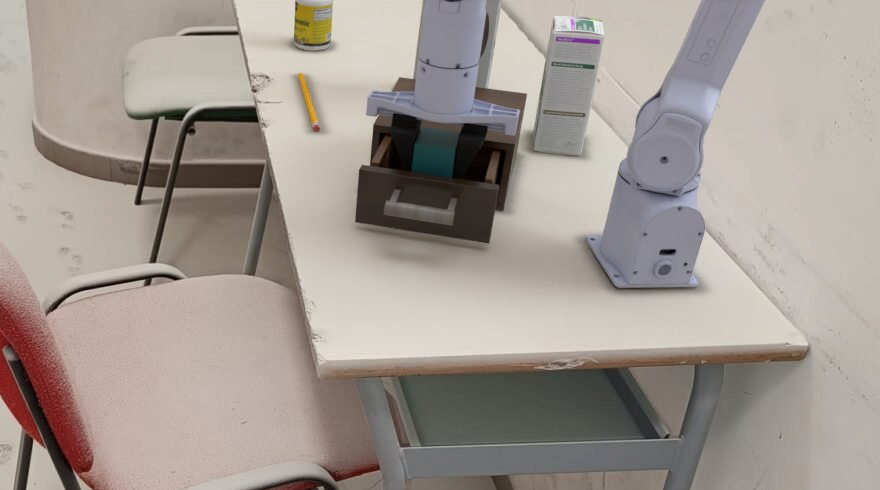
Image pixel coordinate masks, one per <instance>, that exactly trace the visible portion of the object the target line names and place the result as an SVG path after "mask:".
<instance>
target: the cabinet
mask: <svg viewBox="0 0 880 490" xmlns="http://www.w3.org/2000/svg"><path fill="white" fill-rule="evenodd" d="M415 83H416V79H413V78H411V77H410V78H408V77H401V76H399V77H398V79H397V81H396V82H395V84H394V86H393V87H392V90H391V91H390V92H415ZM527 97H528V93H527V92H517V91H511V90H510V91H509V90H502V89H496V88H495V89H494V88H489V87H488V88H480V87H476V88H475V95H474V99H476V100H480V101H483V102H487V103H491V104H495V105H498V106H502V107H506V108H511V109H518V110H520V112H519V118H518V124H517V129H516V133H515V136H511V135H505V134H504V132H502V131H495V130H488V132H487V135H486V138H485V141H484V143H483V145H482V147H488V148H495V149H502V156H501V162H500V168H499V174H498V180H497V184H496V185H499V190H498V196H497V202H496V208H495V211H500V212H501V211H502V212H504V211H505V206H506V202H507V198H508V193H509V188H510V185H511V181H512V176H513V171H514V167H515V163H516V158H517V154H518V147H519V143H520V137H521V131H522V125H523V120H524V115H525V109H526V104H527V103H526V102H527V99H528V98H527ZM392 118H393V116H385V115H378V116H376V118H375V121H374V122H373V125H372V134H371V135H372V136H371V146H370V158H369V159H370V160H369V166H371V162H372V160H373V158H374V156H375V154H376V152H377V150H378V148H379V146H380V144H381V142H382V141H383V139H384V137H385V135H386V133H388V134H390V126H391V124H392ZM422 127H424V128H431V129H439V130H446V131H453V132H460V131H461V129H462V126H459V125H451V124H444V123H437V122H429V121H421V127H420V131H421V128H422Z"/></svg>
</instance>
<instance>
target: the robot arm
mask: <svg viewBox="0 0 880 490" xmlns="http://www.w3.org/2000/svg"><path fill="white" fill-rule="evenodd" d="M765 2H766V0H700V3H699V5H698V7H697V9H696V11H695V14H694V16H693V19H692V20H691V23H690V25H689V27H688V29H687V32H686V34H685V37H684V38H683V41H682V43H681V45H680V47H679V50H678V52H677V54H676V57H675V58H674V61H673V63H672V64H671V67H670V68H669V70H668V71H667V73H666V74H665V77H664V79H663V81H662V83H661V85H660V87H659V89H658V90H657V91H656V92H655V93H654V94H653V95H651V96H650V97H649V98H648V99H647V100H646V101H644V103H643V104H642V105H641V106H640V108H639V110H638V112H637V114H636V118H635V122H634V123H635V124H634V133H633V137H632V140H631V142H630V144H629V146H628V149H627V153H626V157H625V158H623V159H622V160H621V161H620V163H619V165H618V170H617V174H616V178H615V182H614V187H613V191H612V194H611V199H610V202H609V206H608V212H607V214H606V215H607V216H606V219H605V224H604V228H603V231H602V234H587V235H585V238H584V240H585V242H586V243H587V245H588V246H589V248H590V250H591V251H592V252H593V254H594V256H595V258H596V259H597V261H598V262H599V263H600V265H601V267H602V268H603V270H604V271H605V273H606V274H607V276H608V278H609V279H610V281H611V282H612V284H613V286H615V287H616V288H619V289H632V288H633V289H635V288H636V289H637V288H640V289H641V288H697V287H698V286H699V280H698V279H697V277H696V276H695V275H694V274H693V272H694V270H695V265H696V262H697V259H698V256H699V252H700V249H701V246H702V243H703V239H704V235H705V233H706V221H705V218H704V216H703V214H702V212H701V210H700V207H699V204H698V190H699V185H700V181H701V176H702V174H701V169H702V167H703V165H704V158H705V156H704V143H705V136H706V133H707V131H708V129H709V127H710V125H711V122H712V120H713V117H714V114H715V111H716V108H717V105H718V103H719V99H720V97H721V94H722V91H723V89H724V87H725V84H726V83H727V80H728V79H729V76H730V74H731V72H732V70H733V68H734V66H735V64H736V62H737V60H738V57H739V56H740V54H741V52H742V49H743V47H744V46H745V43H746V41H747V39H748V37H749V35H750V33H751V30H752V29H753V27H754V25H755V23H756V20H757V19H758V16H759V14H760V12H761V10H762V8H763V6H764V5H765ZM485 6H486V0H426V2H425V7H424V9H423V18H422V27H421V36H420V46H419V55H418V64H417V74H416V83H415V92H391V91H382V90H371V91H370V92H369V94H368V95H367V98H366V99H367V100H366V111H365V112H366V113H365V116H366V117H376V118H377V117H378V115H385V116H393V118H392V124H391V126H390V134H391V137H392V139H393V141H394V143H395V146H396V148H397V151H398V153H399V157H400V160H401V164H402V168H403V171H408V172H411V171H412V162H413V153H414V144H415V142H416V140H417V137H418V135H419V133H420V127H421V121H429V122H437V123H444V124H451V125H459V126H462V129H461V131H460V134H459V137H458V144H457V155H456V164H455V171H454V175H453V178H455V179H462V178H463V176H464V174H465V172H466V170H467V168H468V166H469V165H470V163H471V161H472V160H473V158H474V157H475V155H476V154H477V152H478V151H479V150H480V148H481V147H482V145H483V143H484V141H485V138H486V135H487V132H488V130H495V131H502V132H504V134H505V135H511V136H515V133H516V129H517V124H518V118H519V112H520V110H518V109H511V108H506V107H502V106H498V105H495V104H491V103H487V102H483V101H480V100H476V99H474V95H475V88H476V81H477V74H478V67H479V60H480V53H481V46H482V39H483V32H484V25H485V18H486V9H485Z"/></svg>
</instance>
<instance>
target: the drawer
mask: <svg viewBox="0 0 880 490" xmlns="http://www.w3.org/2000/svg"><path fill="white" fill-rule="evenodd" d="M501 156H502V149H495V148H488V147H481V148H480V150H479V151H478V152H477V154H476V155H475V157H474V158H473V160H472V161H471V163H470V165H469V166H468V168H467V170H466V172H465V174H464V176H463V178H462V179H455V178H449V177H442V176H435V175H428V174H422V173H415V172H408V171H403V168H402V164H401V160H400V157H399V153H398V151H397V148H396V146H395V143H394V141H393V139H392V137H391V134H388V133H386V135H385V137H384V139H383V141H382V142H381V144H380V146H379V148H378V150H377V152H376V154H375V156H374V158H373V160H372V162H371V166H370V165H367V164H361V166H360V167H359V169H358V170H359V171H358V179H357V192H356V193H357V194H356V203H355V205H356V206H355V207H356V208H355V218H354V223H358V224H363V225H364V224H365V225H369V226H377V227H382V228H383V227H384V228H389V229H393V230H394V229H395V230H401V231H408V232H413V233H418V234H419V233H421V234H427V235H432V236H437V237H444V238H451V239H457V240H463V241H469V242H474V243H475V242H476V243H482V244H487V245H489V244H490V242H491V238H492V231H493V225H494V219H495V214H496V210H495V208H496V202H497V196H498V190H499V185H496V184H497V180H498V174H499V168H500V162H501Z"/></svg>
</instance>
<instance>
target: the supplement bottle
mask: <svg viewBox="0 0 880 490" xmlns="http://www.w3.org/2000/svg"><path fill="white" fill-rule="evenodd" d="M333 6H334V0H295V1H294V23H293V24H294V27H293V44H294V46H295V47H297V48H298V49H301V50H305V51H310V52H311V51H312V52H316V51H323V50H326V49H328V48H330V46H331V43H332V29H333V28H332V25H333V10H334V7H333Z"/></svg>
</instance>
